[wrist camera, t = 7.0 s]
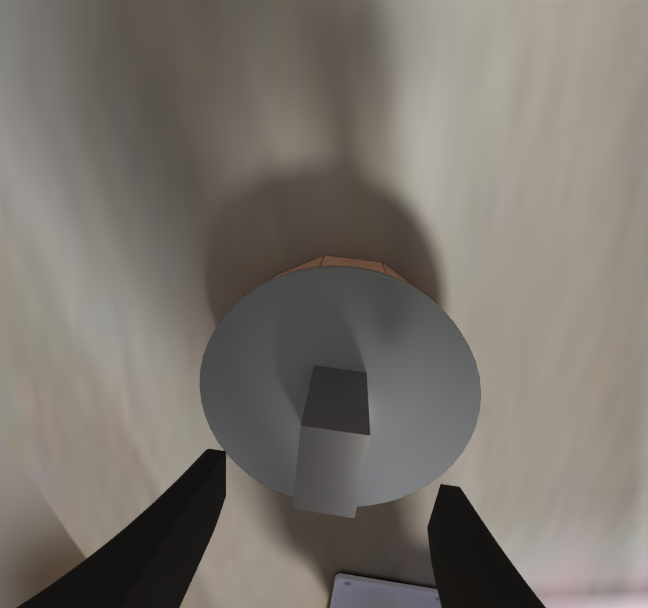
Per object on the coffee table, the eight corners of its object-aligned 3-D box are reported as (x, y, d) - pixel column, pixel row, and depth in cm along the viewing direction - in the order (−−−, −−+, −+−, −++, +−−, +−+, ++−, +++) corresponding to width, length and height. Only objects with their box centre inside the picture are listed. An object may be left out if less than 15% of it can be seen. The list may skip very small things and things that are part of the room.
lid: (511, 285, 14) (585, 335, 9) (439, 510, 19) (466, 615, 14) (203, 247, 15) (136, 277, 10) (208, 474, 19) (164, 563, 15)
